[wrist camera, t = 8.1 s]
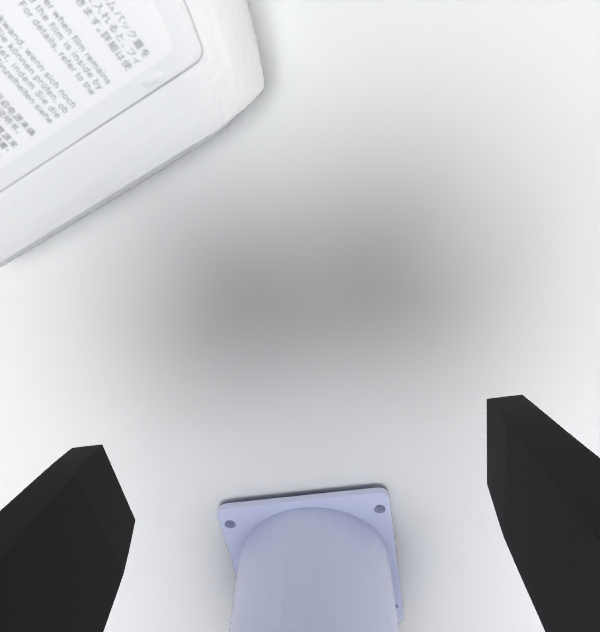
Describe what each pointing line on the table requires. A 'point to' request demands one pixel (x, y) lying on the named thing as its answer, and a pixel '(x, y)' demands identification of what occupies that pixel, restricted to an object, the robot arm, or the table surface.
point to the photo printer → (110, 100)
